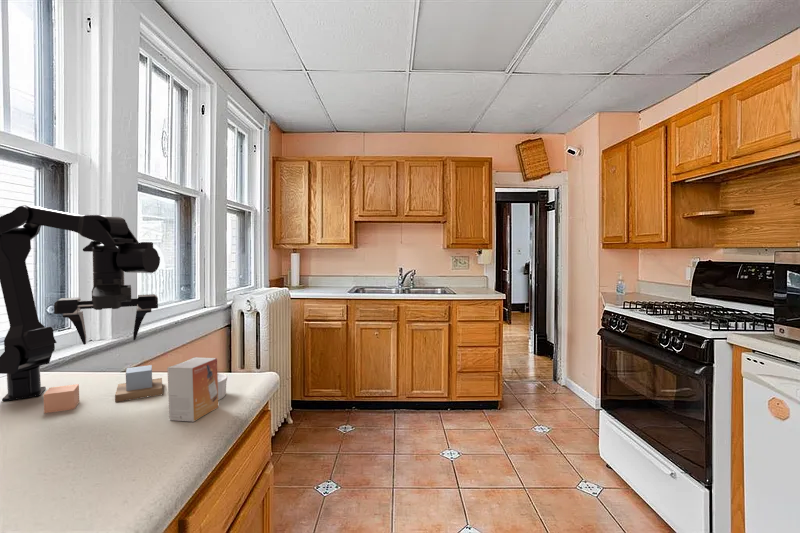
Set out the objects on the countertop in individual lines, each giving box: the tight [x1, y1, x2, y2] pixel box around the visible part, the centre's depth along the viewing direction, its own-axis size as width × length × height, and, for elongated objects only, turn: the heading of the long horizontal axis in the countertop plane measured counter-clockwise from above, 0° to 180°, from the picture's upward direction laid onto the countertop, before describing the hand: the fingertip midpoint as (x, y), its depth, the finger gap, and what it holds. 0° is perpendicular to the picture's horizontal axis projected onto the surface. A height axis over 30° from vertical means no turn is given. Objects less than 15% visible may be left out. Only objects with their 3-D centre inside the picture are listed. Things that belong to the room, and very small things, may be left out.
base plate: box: [114, 377, 164, 403], centre depth 99 cm, size 9×9×2 cm
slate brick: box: [125, 364, 153, 391], centre depth 99 cm, size 5×5×4 cm
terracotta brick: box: [43, 383, 80, 414], centre depth 90 cm, size 5×5×4 cm
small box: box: [167, 356, 219, 423], centre depth 85 cm, size 8×6×10 cm
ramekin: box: [217, 372, 228, 401], centre depth 95 cm, size 9×9×4 cm
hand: (110, 341), depth 95 cm, fingers open, 9 cm apart
